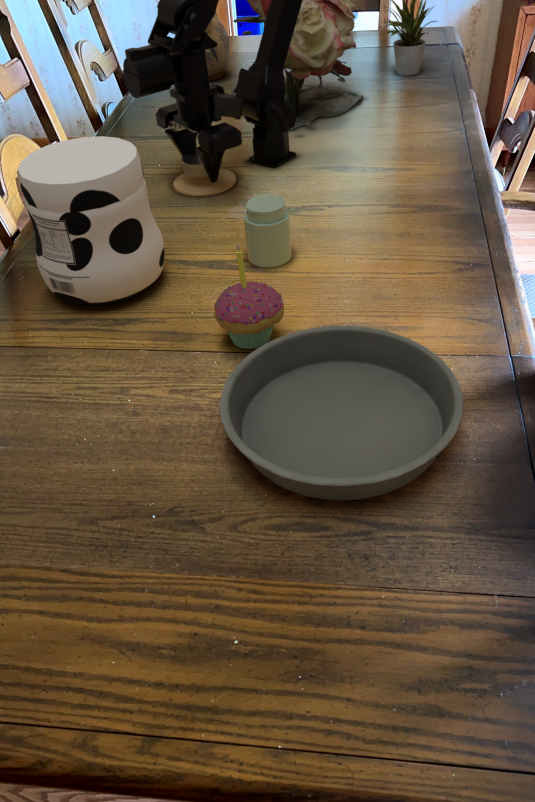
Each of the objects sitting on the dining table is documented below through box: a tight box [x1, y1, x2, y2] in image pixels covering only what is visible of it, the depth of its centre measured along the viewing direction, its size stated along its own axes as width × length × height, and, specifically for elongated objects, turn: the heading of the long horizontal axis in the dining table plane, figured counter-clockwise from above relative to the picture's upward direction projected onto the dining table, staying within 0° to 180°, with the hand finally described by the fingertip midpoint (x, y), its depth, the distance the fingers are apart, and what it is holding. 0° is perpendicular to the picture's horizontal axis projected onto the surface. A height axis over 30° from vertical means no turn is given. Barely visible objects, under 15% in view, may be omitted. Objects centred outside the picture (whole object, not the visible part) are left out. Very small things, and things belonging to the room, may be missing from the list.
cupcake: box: [213, 244, 285, 350], centre depth 85 cm, size 9×8×12 cm
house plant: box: [377, 0, 439, 76], centre depth 159 cm, size 14×14×16 cm
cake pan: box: [219, 325, 464, 501], centre depth 74 cm, size 25×25×4 cm
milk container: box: [17, 135, 166, 306], centre depth 96 cm, size 17×17×18 cm
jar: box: [243, 194, 293, 268], centre depth 101 cm, size 6×6×8 cm
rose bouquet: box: [230, 0, 364, 130], centre depth 142 cm, size 26×29×30 cm
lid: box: [181, 150, 223, 177], centre depth 123 cm, size 7×7×2 cm
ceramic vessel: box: [204, 11, 231, 81], centre depth 162 cm, size 16×9×25 cm, turn 174°
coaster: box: [172, 167, 237, 197], centre depth 125 cm, size 11×11×1 cm
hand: (203, 175), depth 125 cm, fingers closed on lid, 6 cm apart
